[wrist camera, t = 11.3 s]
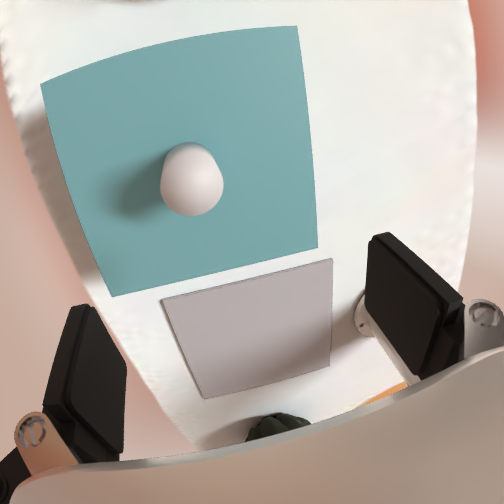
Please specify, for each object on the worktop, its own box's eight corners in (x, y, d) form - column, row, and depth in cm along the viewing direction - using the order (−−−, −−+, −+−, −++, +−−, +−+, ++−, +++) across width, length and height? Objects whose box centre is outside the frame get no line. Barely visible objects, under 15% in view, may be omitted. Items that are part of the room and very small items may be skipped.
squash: (219, 458, 53) (274, 504, 48) (262, 419, 49) (325, 472, 44) (251, 427, 66) (299, 467, 61) (291, 389, 62) (343, 433, 57)
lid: (293, 27, 21) (324, 15, 16) (314, 243, 31) (340, 276, 26) (44, 83, 18) (11, 86, 13) (112, 292, 29) (104, 333, 24)
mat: (331, 258, 41) (332, 260, 41) (328, 363, 53) (329, 365, 52) (162, 298, 39) (162, 301, 38) (204, 396, 50) (204, 399, 50)
